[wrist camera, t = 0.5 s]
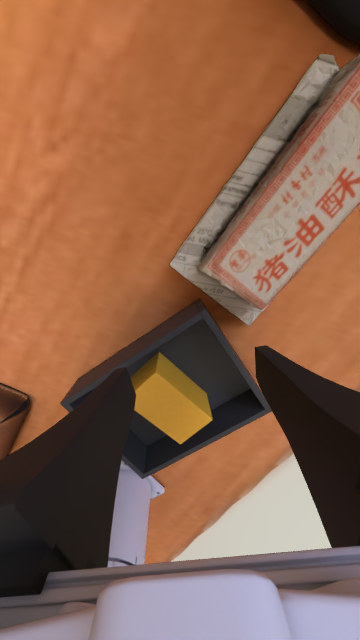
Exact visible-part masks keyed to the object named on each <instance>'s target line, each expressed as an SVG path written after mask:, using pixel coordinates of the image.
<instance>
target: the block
mask: <svg viewBox="0 0 360 640" xmlns="http://www.w3.org/2000/svg"><path fill="white" fill-rule="evenodd" d="M131 381H132V384H133V387H134V390H135V393H136V401H135V408H134V410H135V411H136V412H138V413H139V414H140V415H142V416H143V417H144V418H146V419H147V420H148V421H150V422H151V423H152V424H154V425H155V426H156V427H158V428H159V429H160V430H162V431H163V432H164V433H166V434H167V435H168V436H170V437H171V438H172V439H174V440H175V441H176V442H178V443H179V444H182V443H183V442H184V441H186V440H187V439H188V438H190V437H191V436H192V435H194V434H195V433H196V432H198V431H199V430H200V429H202V428H203V427H204V426H205V425H207V424H208V423H209V422H211V421H212V420H213V419H212V415H211V410H210V406H209V402H208V397H207V393H206V392H205V391H203V390H202V389H201V388H200V387H199V386H198V385H197V384H195V383H194V382H193V381H192V380H191V379H190V378H189V377H188V376H186V375H185V374H184V373H183V372H182V371H181V370H180V369H178V368H177V367H176V366H175V365H174V364H173V363H172V362H170V361H169V360H168V359H167V358H166V357H165V356H164V355H162V354H161V353H160V352H158V353H157V354H155V355H154V356H153V357H152V358H151V359H150V360H149V361H148V362H147V363H146V364H145V365H143V366H142V367H141V368H140V369H139V370H138V371H137V372H136V373H135V374H134V375H133V376H131Z"/></svg>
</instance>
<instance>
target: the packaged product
mask: <svg viewBox="0 0 360 640" xmlns="http://www.w3.org/2000/svg"><path fill="white" fill-rule="evenodd" d="M359 204H360V53H359V55H358V56H357V57H355V58H354V59H352V60H350V61H349V62H348V63H347V64H346V65H344V66H343V68H342V69H340V68H339V66H338V65H337V63H336V62H335V60H334V56H333V55H327V54H320V55H319V56H318V57H317V59H316V60H315V61H314V63H313V64H312V65H311V66H310V68H309V69H308V70H307V72H306V73H305V75H304V76H303V78H302V79H301V81H300V82H299V84H298V85H297V87H296V88H295V90H294V91H293V93H292V94H291V96H290V97H289V98H288V100H287V101H286V103H285V104H284V105H283V107H282V108H281V109H280V111H279V112H278V113H277V115H276V116H275V117H274V119H273V120H272V121H271V123H270V124H269V125H268V127H267V128H266V129H265V131H264V132H263V133H262V135H261V136H260V137H259V139H258V140H257V142H256V143H255V145H254V146H253V148H252V149H251V151H250V152H249V154H248V155H247V156H246V158H245V159H244V161H243V162H242V163H241V165H240V166H239V167H238V169H237V170H236V171H235V172H234V174H233V175H232V176H231V178H230V179H229V180H228V182H227V183H226V184H225V186H224V187H223V188H222V190H221V191H220V193H219V194H218V195H217V197H216V198H215V200H214V201H213V203H212V204H211V205H210V207H209V208H208V209H207V211H206V212H205V214H204V215H203V216H202V218H201V219H200V220H199V222H198V223H197V225H196V226H195V227H194V229H193V230H192V232H191V233H190V234H189V236H188V237H187V238H186V240H185V241H184V243H183V244H182V245H181V247H180V248H179V250H178V252H177V253H176V255H175V256H174V258H173V260H172V261H171V263H170V266H171V267H172V268H173V269H175V270H176V271H177V272H178V273H179V274H181V275H182V276H183V277H185V278H186V279H187V280H189V281H190V282H191V283H193V284H194V285H196V286H197V287H198V288H200V289H201V290H202V291H203V292H205V293H206V294H207V295H208V296H209V297H211V298H212V299H213V300H214V301H216V302H217V303H218V304H220V305H221V306H222V307H224V308H225V309H226V310H228V311H229V312H230V313H232V314H233V315H235V316H236V317H237V318H239V319H240V320H242V321H243V322H245V323H246V324H247V325H249V326H250V325H251V323H252V322H253V321H254V320H255V319H256V318H257V316H258V315H259V314H260V313H262V312H263V311H264V310H265V309H266V307H267V306H268V305H269V304H270V303H271V302H272V301H273V299H274V298H275V297H276V296H277V294H278V293H279V292H280V291H281V290H282V289H283V288H284V287H285V286H286V285H287V284H288V283H289V281H290V280H291V279H292V278H293V277H294V276H295V275H296V274H297V273H298V272H299V271H300V270H301V268H302V267H303V266H304V265H305V264H306V263H307V262H308V261H309V259H310V258H311V257H312V256H313V255H314V254H315V253H316V252H317V251H318V250H319V249H320V248H321V246H322V245H323V244H324V243H325V242H326V240H327V239H328V238H329V237H330V236H331V235H332V234H333V232H334V231H335V230H336V229H337V228H338V227H339V226H340V225H341V224H342V223H343V222H344V221H345V219H346V218H347V217H348V216H349V215H350V214H351V213H352V212H353V211H354V209H355V208H356V207H357V206H358V205H359Z"/></svg>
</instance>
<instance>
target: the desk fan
mask: <svg viewBox="0 0 360 640" xmlns="http://www.w3.org/2000/svg"><path fill="white" fill-rule="evenodd" d="M308 1H309V2H310V3H311V4H312V5H313V7H314V8H315V9H316V10H317V11H318V12H319V13H320V14H321V15H322V16H323V17H324V18H325V19H326V21H327V22H328V23H329V24H330V25H331V26H332V27H333V28H335V29H336V30H337V31H338V32H339V33H340V34H342V35H343V36H345V37H346V38H347V39H349V40H351V41H353V42H355V43H357V44H359V45H360V0H308Z"/></svg>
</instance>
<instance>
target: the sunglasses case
mask: <svg viewBox="0 0 360 640" xmlns="http://www.w3.org/2000/svg"><path fill="white" fill-rule="evenodd" d="M28 408H29V398H28V396H27V395H26V394H24V393H22V392H19V391H17V390H15V389H13V388H11V387H9V386H6V385H4V384H1V383H0V460H2V459H4V458H5V457H7V455H8V452H9V450H10V448H11V446H12V444H13V442H14V439H15V437H16V435H17V433H18V431H19V429H20V426H21V425H22V423H23V421H24V418H25V416H26V414H27V411H28Z"/></svg>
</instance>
